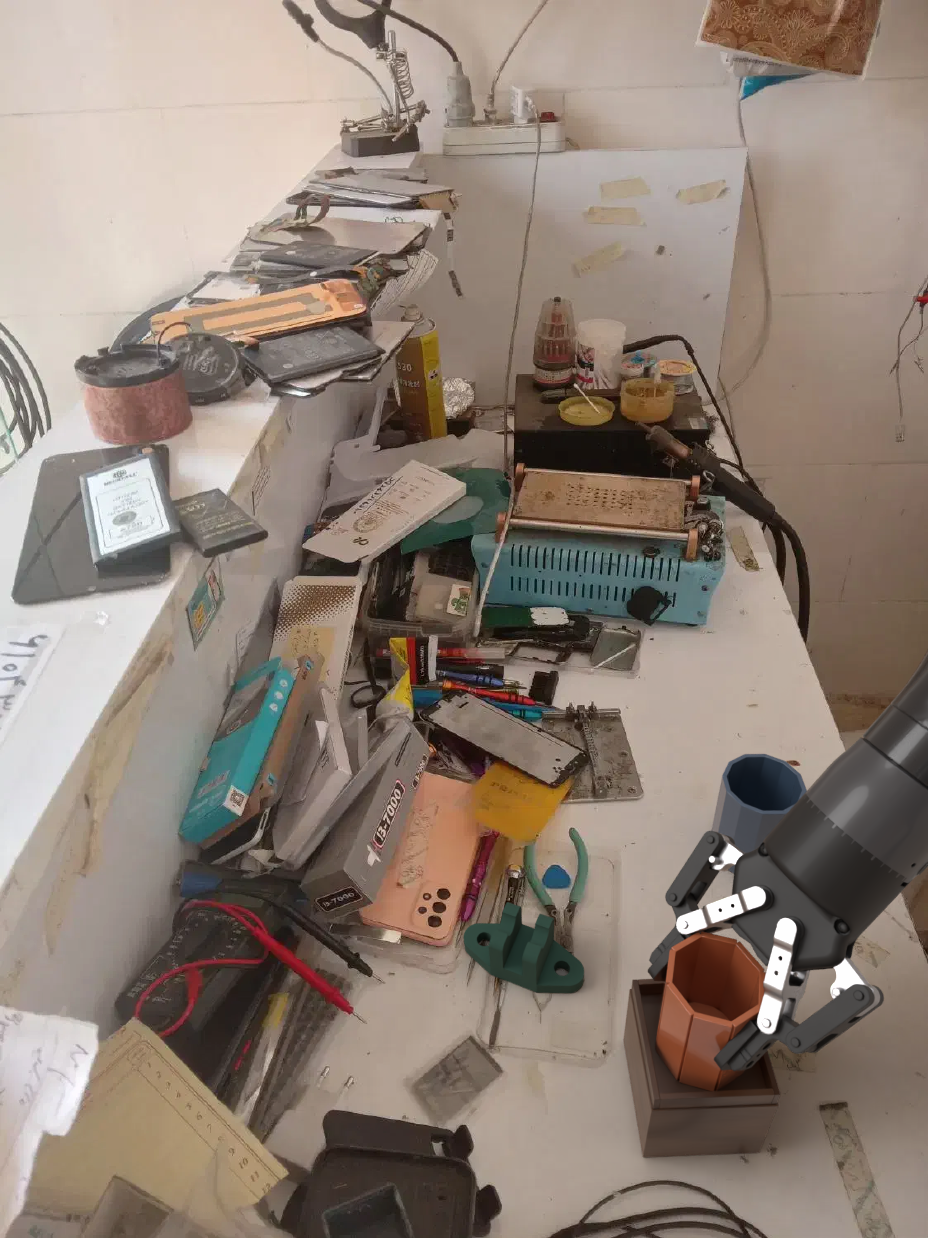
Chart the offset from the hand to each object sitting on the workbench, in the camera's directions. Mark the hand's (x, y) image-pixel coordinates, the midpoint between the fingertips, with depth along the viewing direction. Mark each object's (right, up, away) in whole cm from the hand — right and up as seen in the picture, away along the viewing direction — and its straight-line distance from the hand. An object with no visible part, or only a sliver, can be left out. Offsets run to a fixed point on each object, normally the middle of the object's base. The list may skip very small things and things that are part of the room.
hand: (689, 1019), depth 54 cm
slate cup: (+13, +4, +26) cm, 29 cm away
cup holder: (+2, -10, +9) cm, 13 cm away
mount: (-10, -4, +18) cm, 21 cm away
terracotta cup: (+2, -4, +4) cm, 6 cm away
